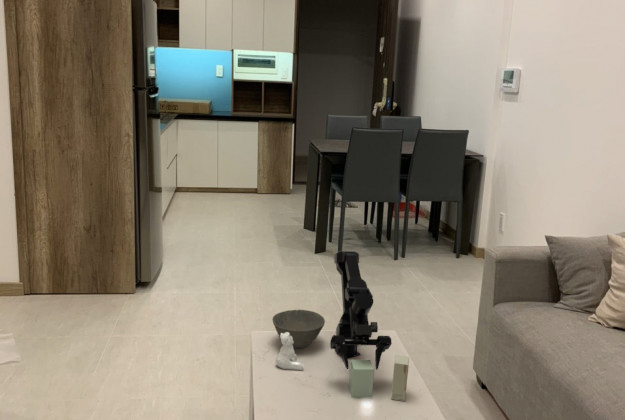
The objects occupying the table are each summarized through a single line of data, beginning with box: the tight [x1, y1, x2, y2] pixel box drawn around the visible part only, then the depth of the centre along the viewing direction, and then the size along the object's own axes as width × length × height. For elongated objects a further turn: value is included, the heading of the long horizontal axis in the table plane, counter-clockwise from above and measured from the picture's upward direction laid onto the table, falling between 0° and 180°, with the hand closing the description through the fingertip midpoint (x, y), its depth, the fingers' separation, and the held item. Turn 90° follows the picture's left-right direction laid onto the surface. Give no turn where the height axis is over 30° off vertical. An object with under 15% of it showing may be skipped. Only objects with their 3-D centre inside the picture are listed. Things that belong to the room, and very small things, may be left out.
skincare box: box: [390, 354, 410, 402], centre depth 192 cm, size 6×4×12 cm
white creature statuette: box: [275, 332, 305, 371], centre depth 207 cm, size 10×9×12 cm
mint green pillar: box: [348, 359, 375, 399], centre depth 193 cm, size 6×6×10 cm
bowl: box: [272, 309, 326, 349], centre depth 223 cm, size 19×19×10 cm
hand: (362, 369), depth 191 cm, fingers open, 9 cm apart
